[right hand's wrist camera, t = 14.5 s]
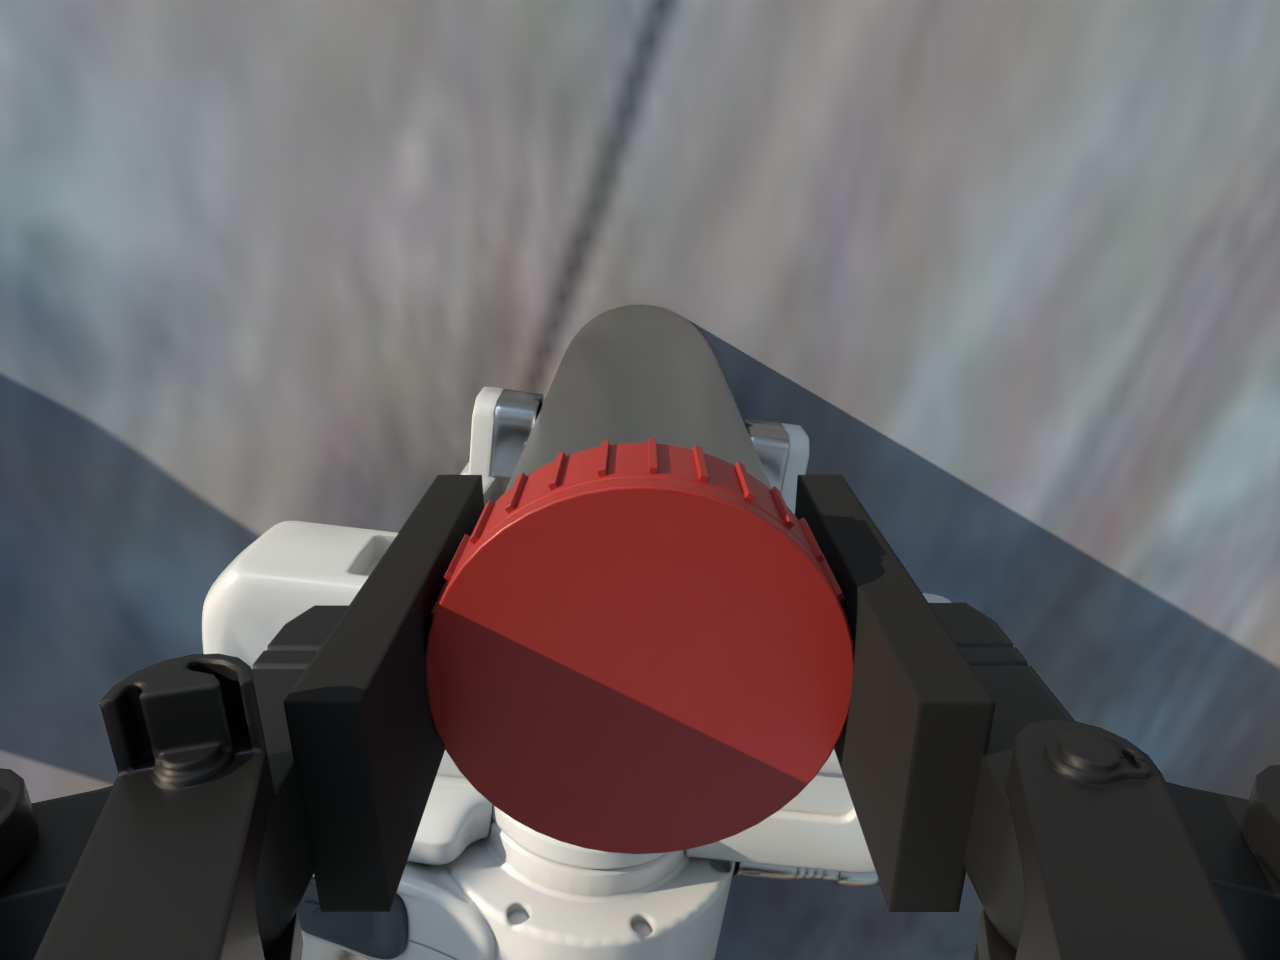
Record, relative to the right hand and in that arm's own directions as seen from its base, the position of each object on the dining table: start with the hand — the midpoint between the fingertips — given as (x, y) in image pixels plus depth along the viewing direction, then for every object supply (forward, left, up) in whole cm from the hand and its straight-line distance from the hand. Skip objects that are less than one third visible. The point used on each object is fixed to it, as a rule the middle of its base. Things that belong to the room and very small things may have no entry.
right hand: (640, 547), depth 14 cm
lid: (0, 0, +4) cm, 4 cm away
